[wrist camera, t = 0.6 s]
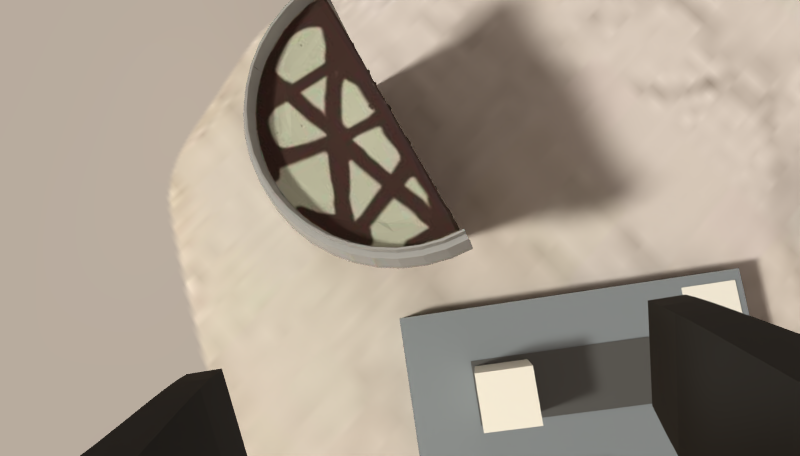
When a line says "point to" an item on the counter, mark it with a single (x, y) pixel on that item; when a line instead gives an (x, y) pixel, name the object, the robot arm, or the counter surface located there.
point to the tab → (508, 396)
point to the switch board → (551, 369)
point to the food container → (339, 148)
